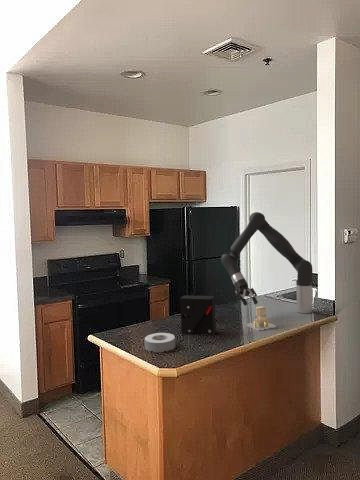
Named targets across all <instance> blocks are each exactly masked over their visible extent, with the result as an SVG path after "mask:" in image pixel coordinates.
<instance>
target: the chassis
mask: <svg viewBox="0 0 360 480" xmlns="http://www.w3.org/2000/svg"><path fill="white" fill-rule="evenodd" d="M245 325H246V327H249V328H251V329H254V330H255V329H256V331H258V330H261V331H264V329H266V330H271V329H276V328H277V325H276V324H273V323H271V322H269V319H268V318H266V322H264V326H259V325H256V318H255V320H254V321H253V322H251V323H246V324H245ZM270 328H271V329H270Z"/></svg>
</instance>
